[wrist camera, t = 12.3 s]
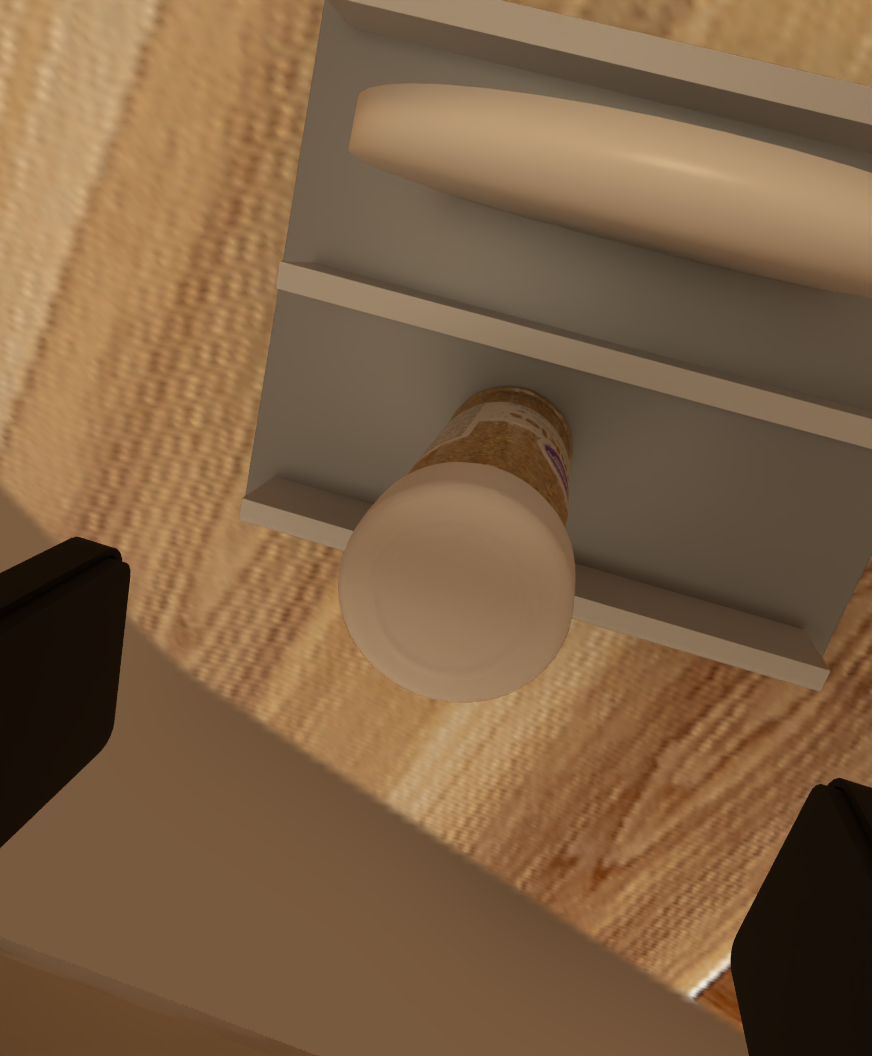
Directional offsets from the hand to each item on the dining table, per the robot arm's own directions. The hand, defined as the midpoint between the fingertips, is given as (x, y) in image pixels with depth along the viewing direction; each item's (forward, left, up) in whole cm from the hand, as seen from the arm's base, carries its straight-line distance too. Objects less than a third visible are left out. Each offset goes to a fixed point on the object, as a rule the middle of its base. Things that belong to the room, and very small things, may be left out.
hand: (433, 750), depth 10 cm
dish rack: (-1, -4, -19) cm, 19 cm away
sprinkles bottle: (0, 0, -18) cm, 18 cm away
